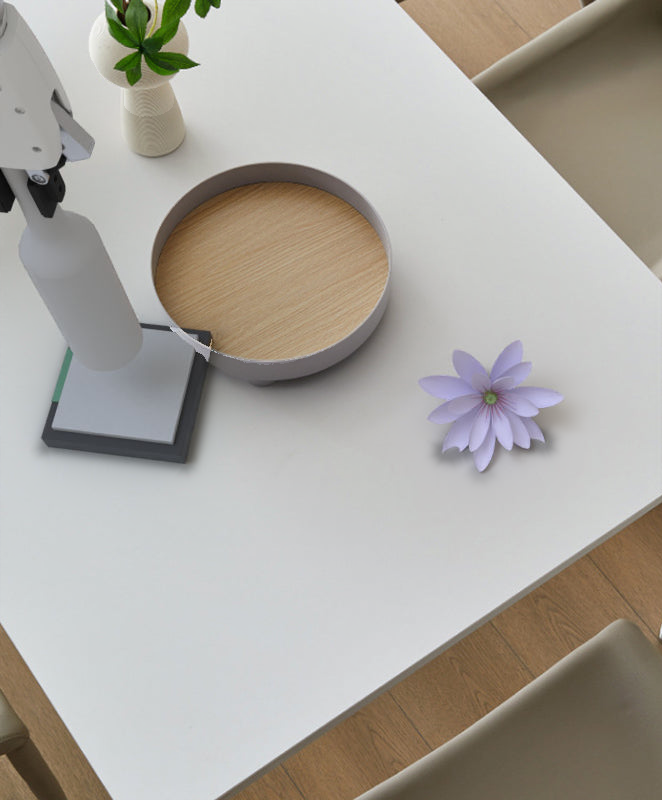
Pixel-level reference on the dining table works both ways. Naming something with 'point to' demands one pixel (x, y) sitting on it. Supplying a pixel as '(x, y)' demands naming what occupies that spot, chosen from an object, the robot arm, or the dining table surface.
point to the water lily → (488, 403)
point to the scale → (132, 400)
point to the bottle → (77, 282)
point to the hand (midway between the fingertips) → (31, 198)
